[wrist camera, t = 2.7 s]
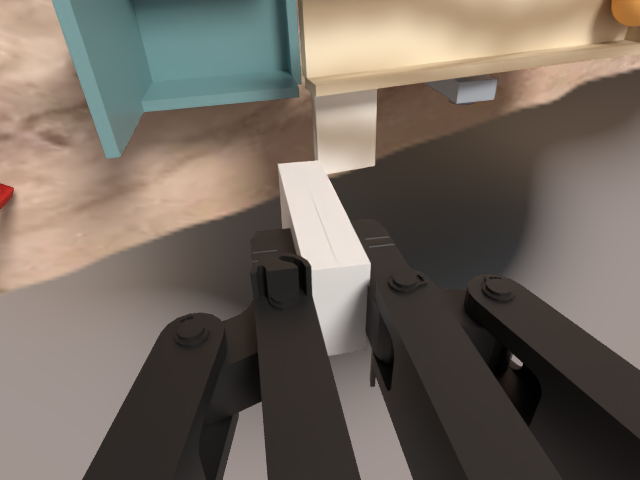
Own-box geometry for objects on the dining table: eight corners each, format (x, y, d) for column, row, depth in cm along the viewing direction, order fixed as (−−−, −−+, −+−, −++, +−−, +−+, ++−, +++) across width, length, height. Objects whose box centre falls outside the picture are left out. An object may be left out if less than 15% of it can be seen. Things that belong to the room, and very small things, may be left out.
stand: (368, -92, 34) (428, -113, 24) (485, -97, 35) (586, -119, 25) (366, 77, 41) (410, 115, 31) (463, 68, 42) (535, 101, 33)
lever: (289, -55, 25) (310, -57, 22) (643, -71, 31) (704, -75, 28) (304, 166, 33) (322, 190, 30) (585, 118, 39) (627, 133, 36)
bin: (104, -70, 32) (20, -91, 19) (285, -78, 33) (325, -102, 20) (146, 90, 38) (106, 158, 25) (296, 76, 40) (332, 133, 27)
